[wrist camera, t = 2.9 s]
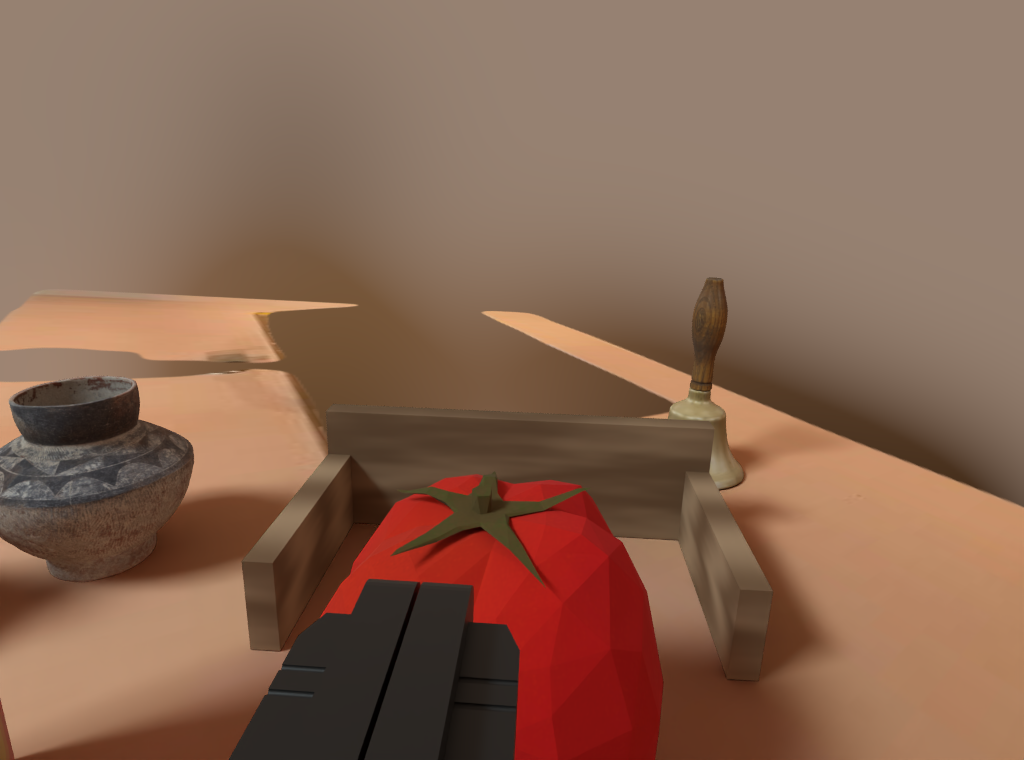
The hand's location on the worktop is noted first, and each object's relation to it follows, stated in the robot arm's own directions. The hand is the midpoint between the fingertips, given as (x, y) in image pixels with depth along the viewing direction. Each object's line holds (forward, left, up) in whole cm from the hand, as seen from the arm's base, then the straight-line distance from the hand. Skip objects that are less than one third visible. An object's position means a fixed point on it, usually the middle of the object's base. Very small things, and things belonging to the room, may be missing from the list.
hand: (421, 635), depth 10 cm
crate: (-17, -20, -17) cm, 31 cm away
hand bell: (-39, -24, -17) cm, 49 cm away
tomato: (-7, -8, -17) cm, 20 cm away
